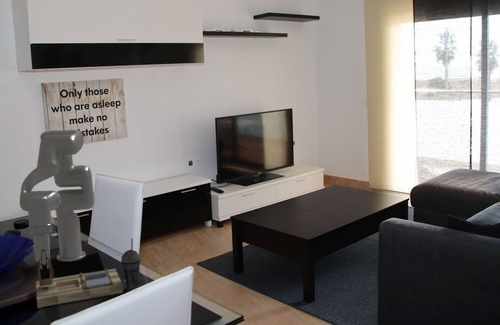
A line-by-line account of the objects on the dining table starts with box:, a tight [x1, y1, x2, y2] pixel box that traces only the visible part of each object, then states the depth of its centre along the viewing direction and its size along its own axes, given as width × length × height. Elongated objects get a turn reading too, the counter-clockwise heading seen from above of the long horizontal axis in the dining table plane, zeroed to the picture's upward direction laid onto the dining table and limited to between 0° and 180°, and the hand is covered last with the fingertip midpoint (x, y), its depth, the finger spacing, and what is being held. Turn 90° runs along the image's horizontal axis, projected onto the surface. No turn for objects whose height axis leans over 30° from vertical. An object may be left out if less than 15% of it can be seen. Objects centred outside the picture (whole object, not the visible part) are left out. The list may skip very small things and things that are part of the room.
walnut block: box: [36, 258, 53, 286], centre depth 192 cm, size 4×4×10 cm
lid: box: [85, 270, 110, 288], centre depth 197 cm, size 8×8×2 cm
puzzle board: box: [35, 268, 124, 309], centre depth 198 cm, size 18×30×4 cm, turn 113°
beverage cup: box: [120, 238, 141, 292], centre depth 197 cm, size 7×7×20 cm
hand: (45, 275), depth 192 cm, fingers closed on walnut block, 4 cm apart
